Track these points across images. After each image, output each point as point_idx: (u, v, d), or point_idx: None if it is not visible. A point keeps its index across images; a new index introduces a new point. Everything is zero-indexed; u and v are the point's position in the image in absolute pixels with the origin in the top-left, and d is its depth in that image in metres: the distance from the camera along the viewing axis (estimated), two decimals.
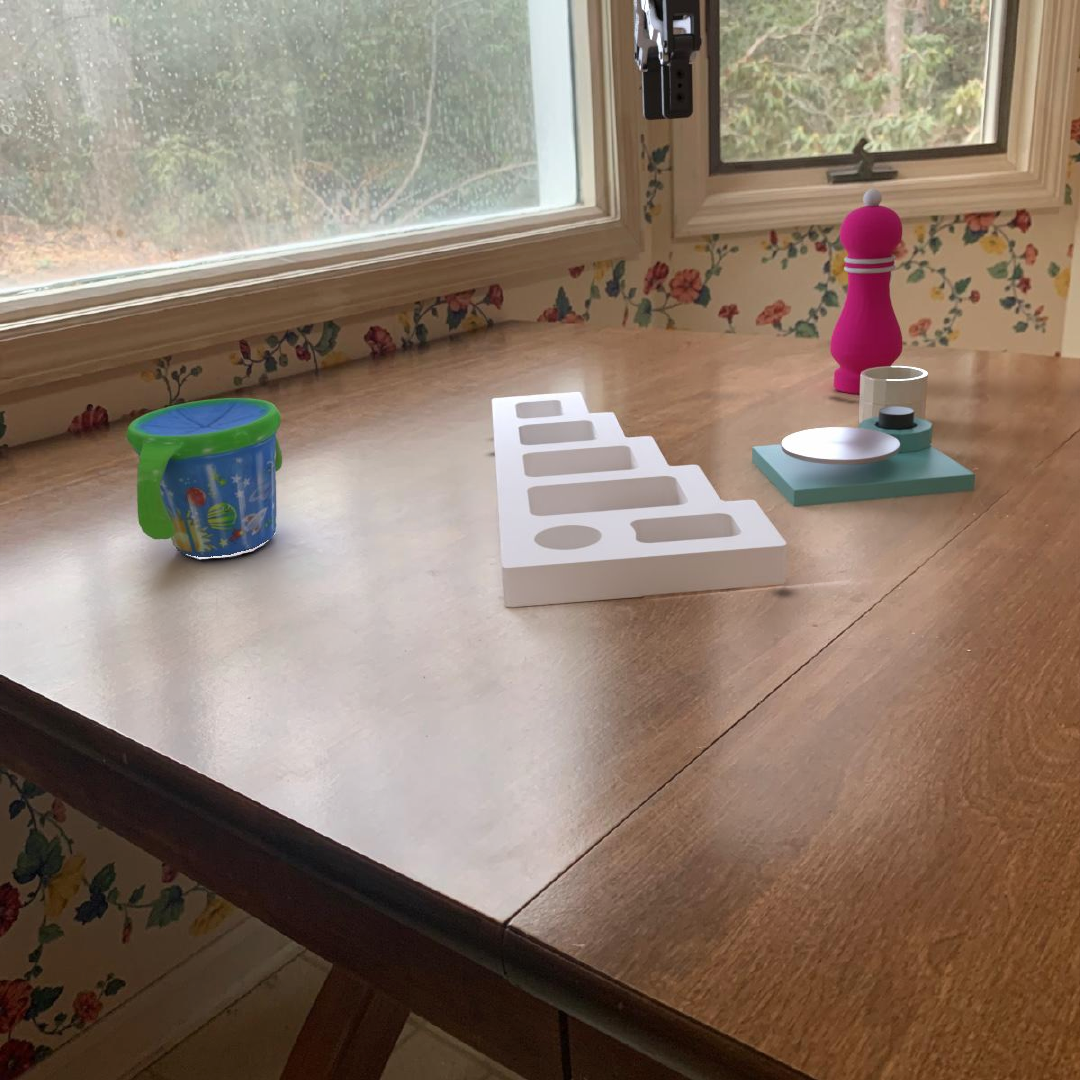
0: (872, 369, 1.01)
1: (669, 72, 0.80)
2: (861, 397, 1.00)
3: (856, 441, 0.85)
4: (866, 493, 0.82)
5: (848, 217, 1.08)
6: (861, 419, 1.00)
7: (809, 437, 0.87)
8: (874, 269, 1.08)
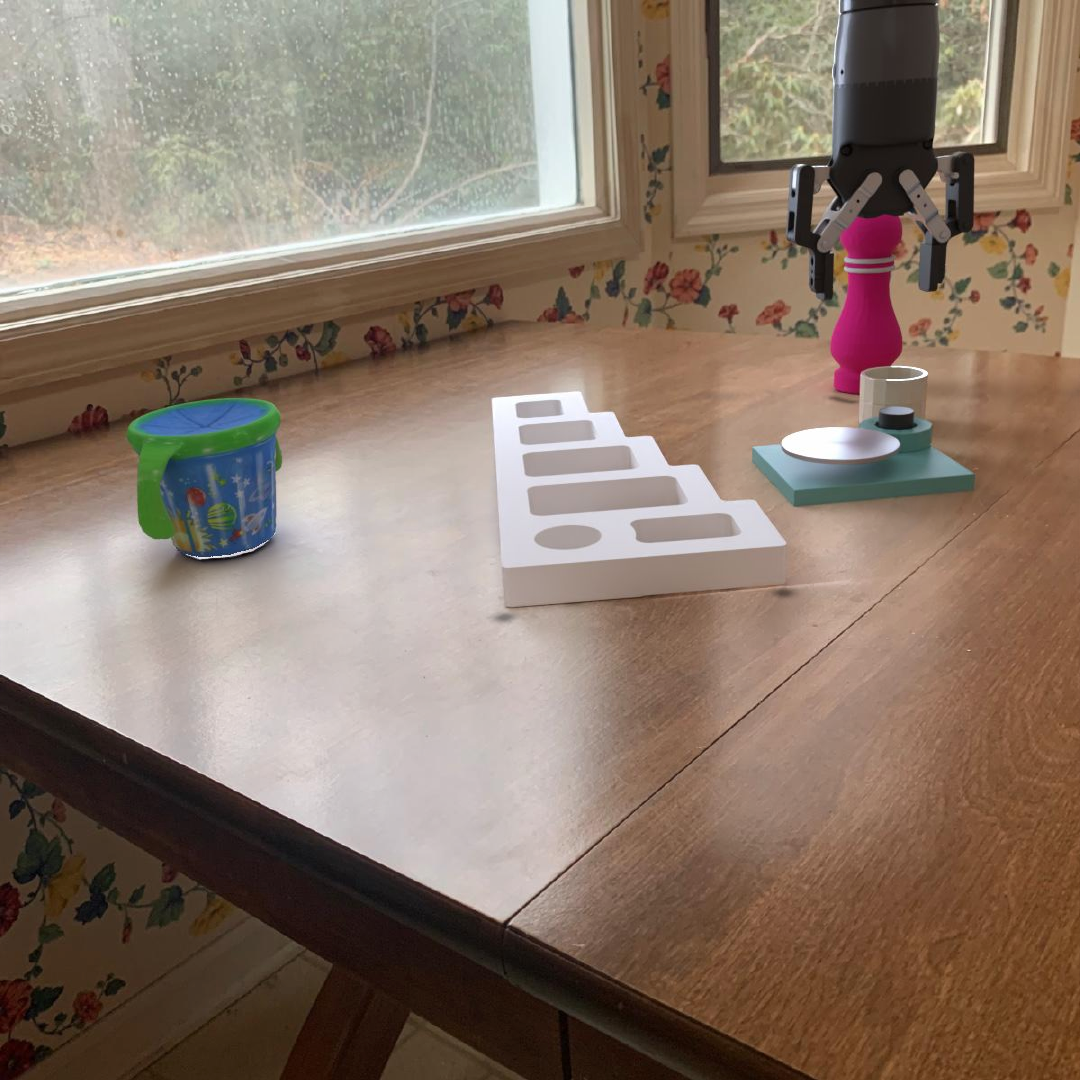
0: (872, 369, 1.01)
1: None
2: (861, 397, 1.00)
3: (856, 441, 0.85)
4: (866, 493, 0.82)
5: None
6: (861, 419, 1.00)
7: (809, 437, 0.87)
8: (874, 269, 1.08)
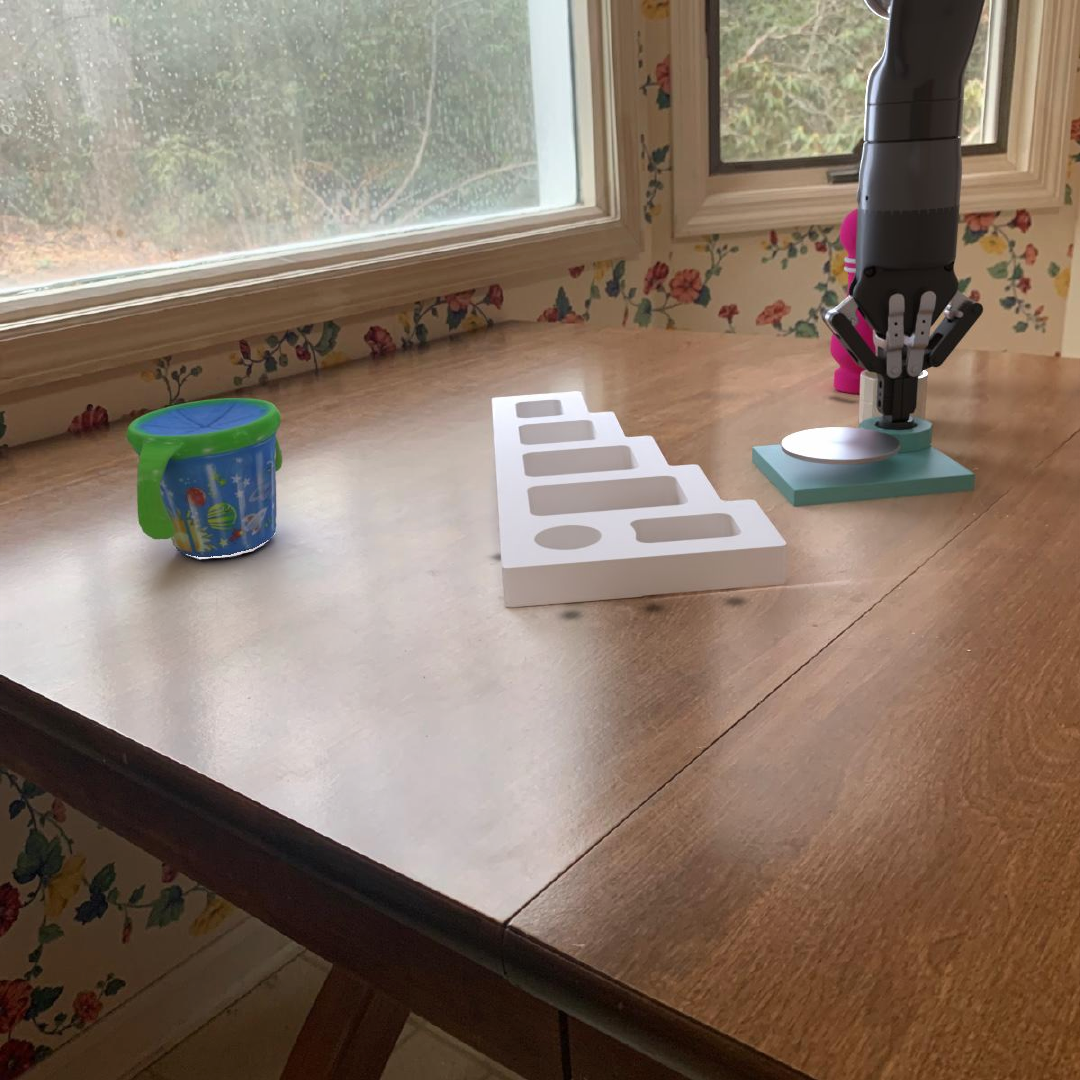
0: None
1: None
2: (861, 397, 1.00)
3: (856, 441, 0.85)
4: (866, 493, 0.82)
5: (848, 217, 1.08)
6: (861, 419, 1.00)
7: (809, 437, 0.87)
8: None
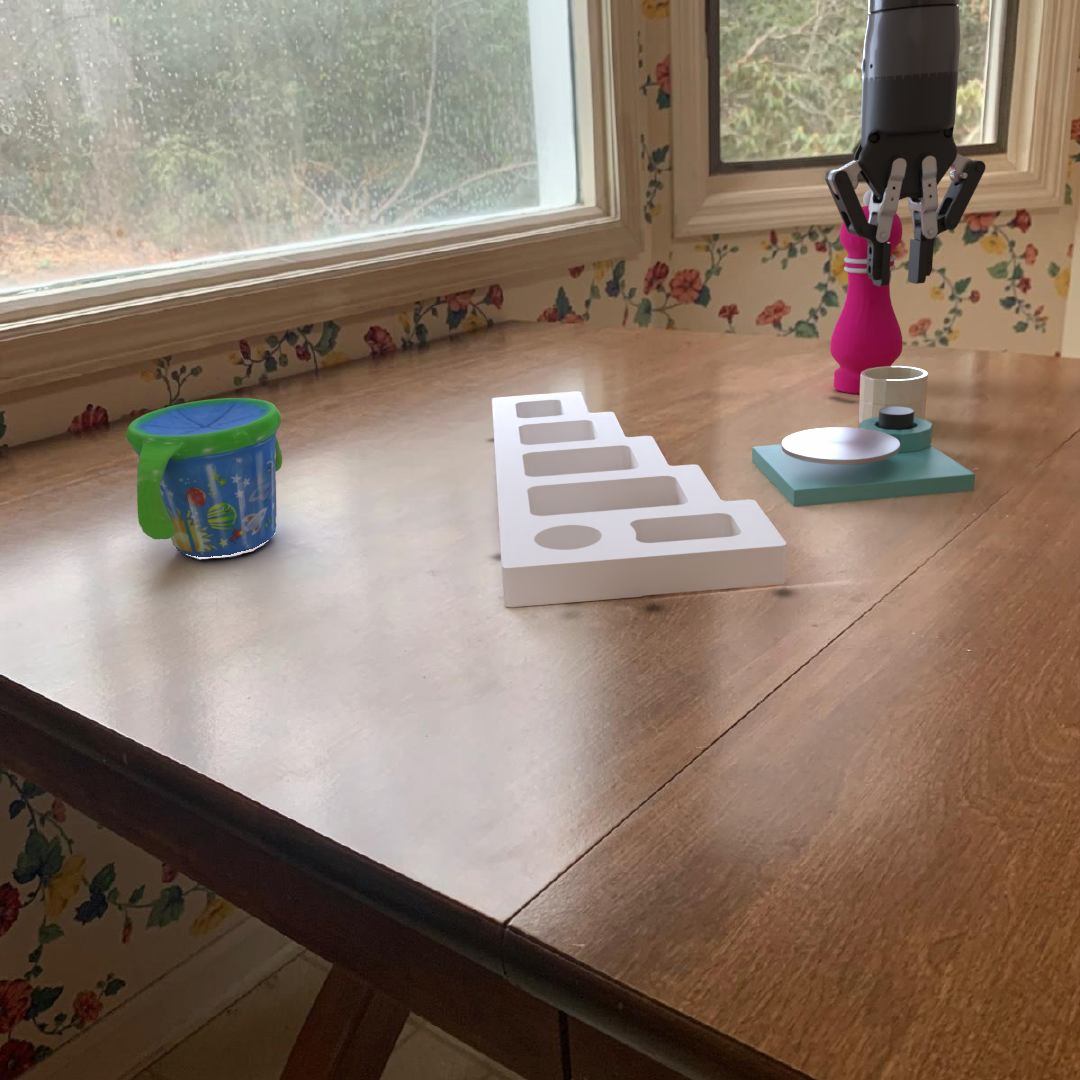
0: (872, 369, 1.01)
1: None
2: (861, 397, 1.00)
3: (856, 441, 0.85)
4: (866, 493, 0.82)
5: None
6: (861, 419, 1.00)
7: (809, 437, 0.87)
8: None
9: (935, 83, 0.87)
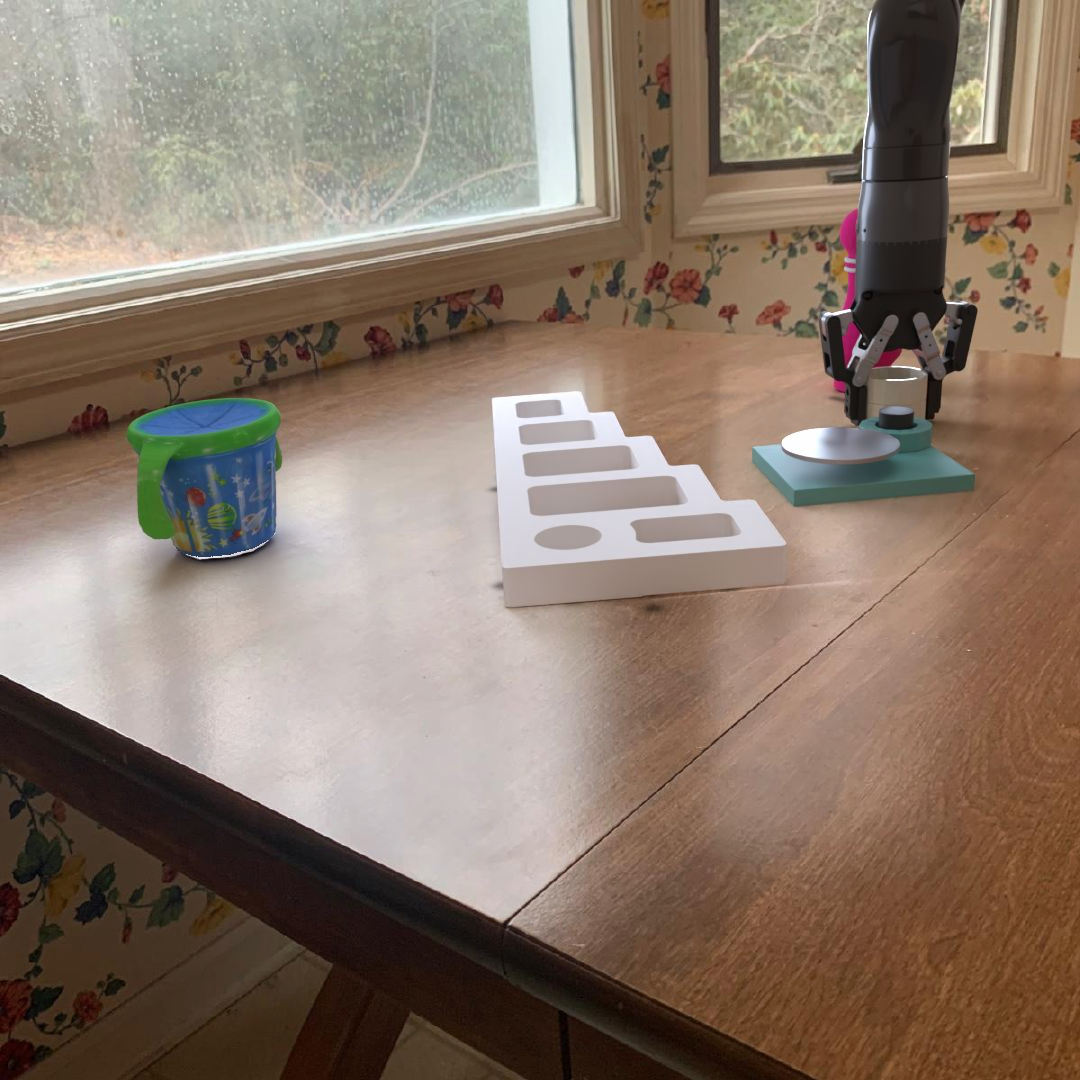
0: (872, 369, 1.01)
1: None
2: None
3: (856, 441, 0.85)
4: (866, 493, 0.82)
5: (848, 217, 1.08)
6: None
7: (809, 437, 0.87)
8: None
9: (925, 250, 0.92)
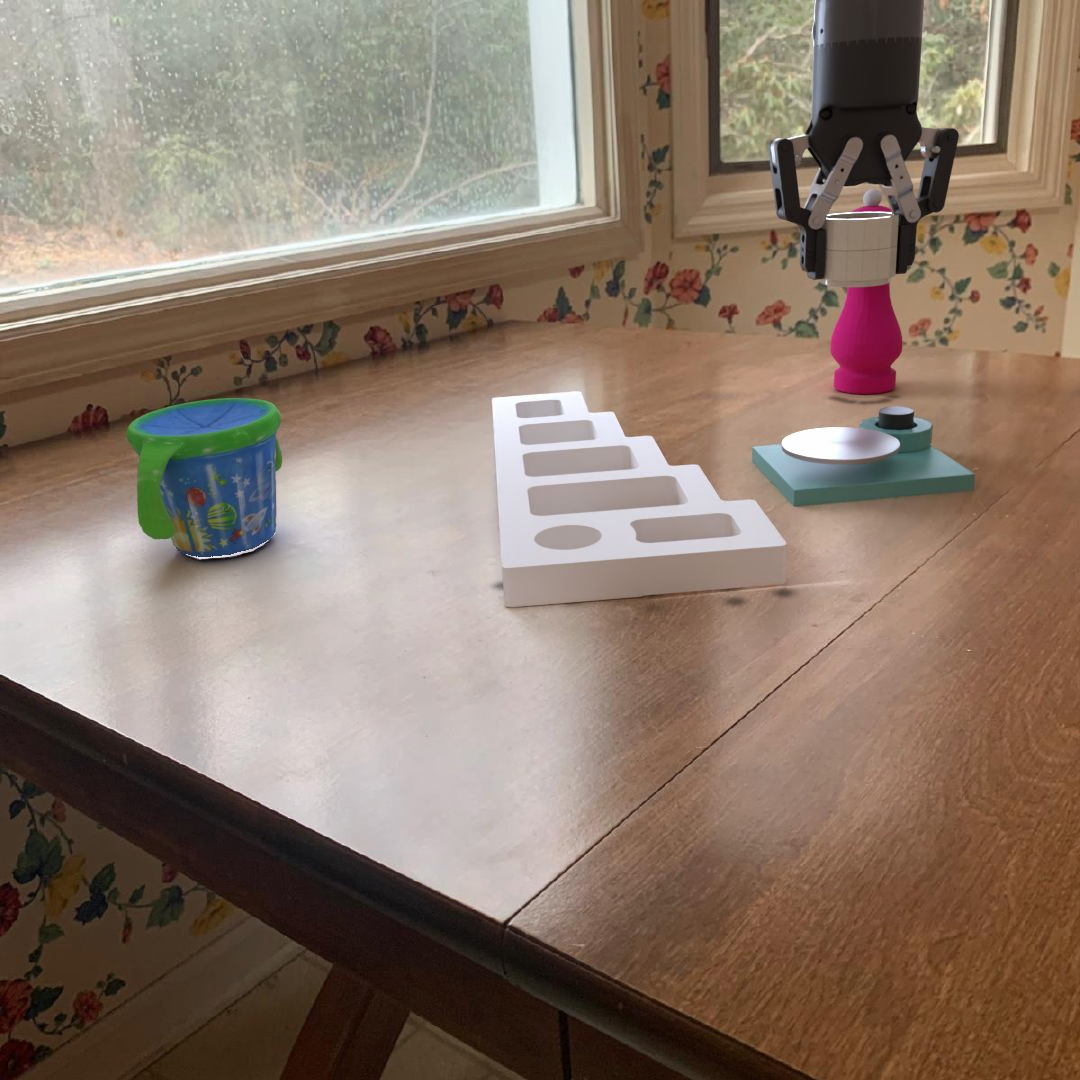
0: (834, 215, 0.85)
1: None
2: None
3: (856, 441, 0.85)
4: (866, 493, 0.82)
5: None
6: None
7: (809, 437, 0.87)
8: None
9: (894, 50, 0.75)
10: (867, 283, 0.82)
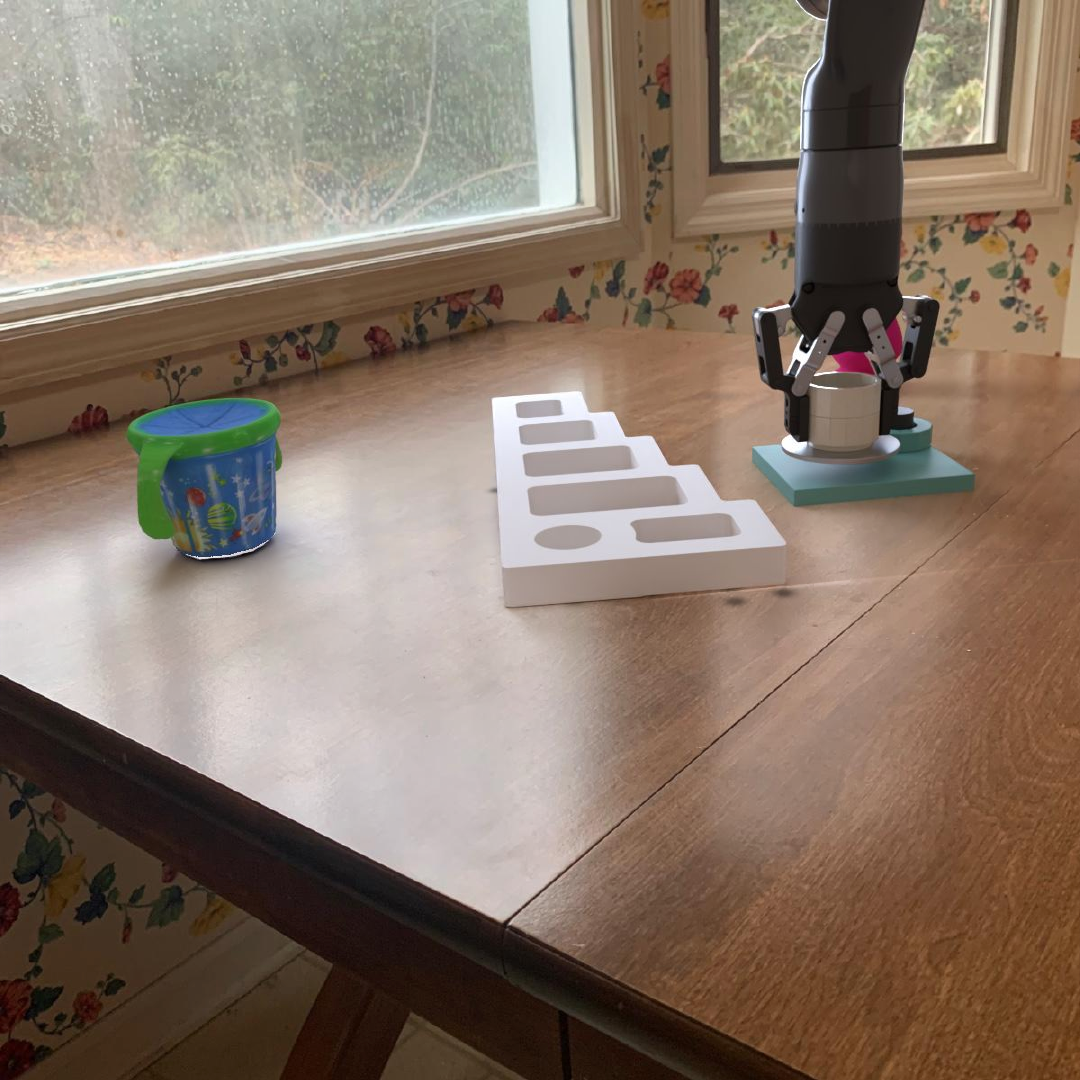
0: (817, 375, 0.86)
1: None
2: None
3: None
4: (866, 493, 0.82)
5: None
6: None
7: None
8: None
9: (874, 233, 0.76)
10: (850, 448, 0.83)
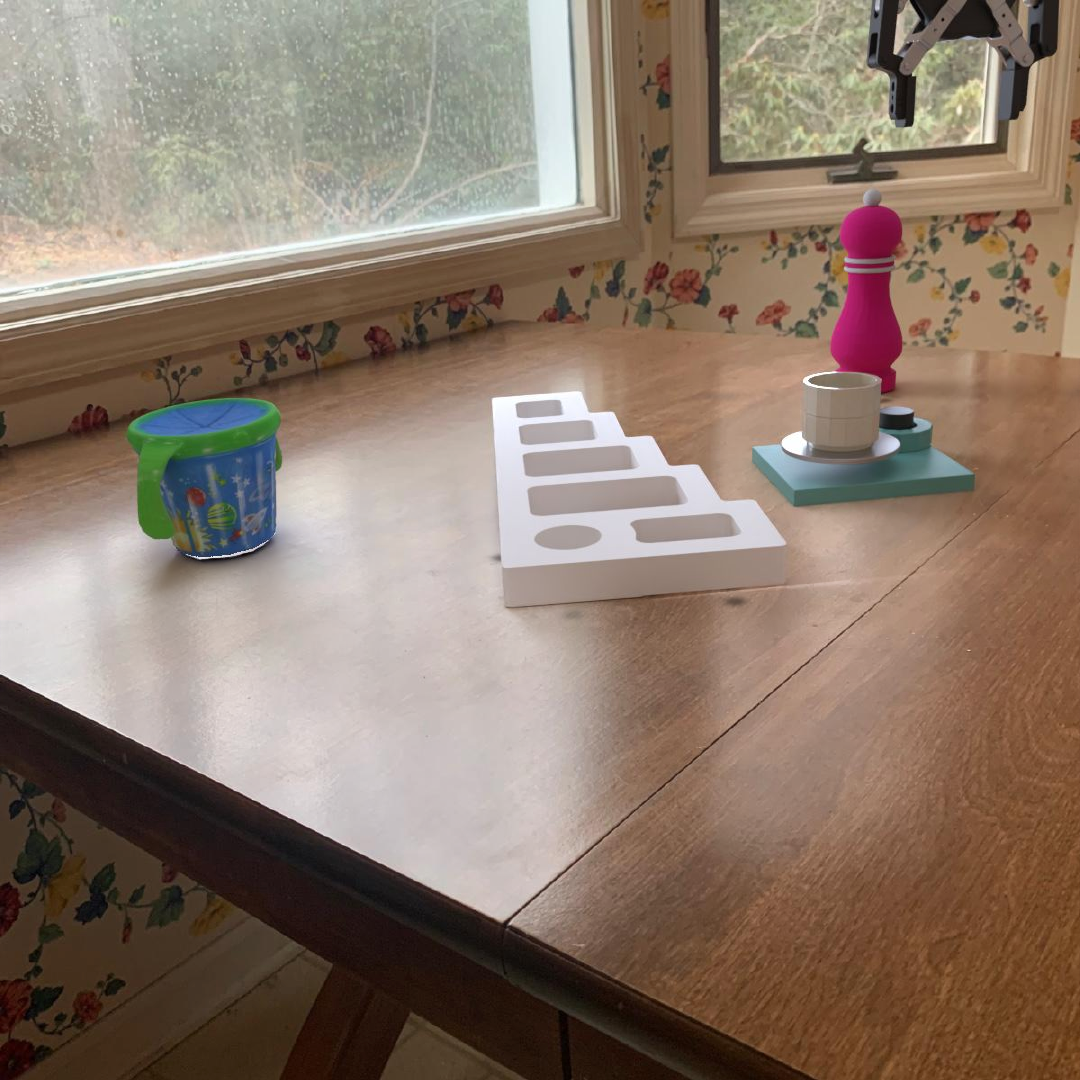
0: (817, 375, 0.86)
1: None
2: (803, 408, 0.84)
3: None
4: (866, 493, 0.82)
5: (848, 217, 1.08)
6: (804, 434, 0.85)
7: None
8: (874, 269, 1.08)
9: None
10: (850, 448, 0.83)
